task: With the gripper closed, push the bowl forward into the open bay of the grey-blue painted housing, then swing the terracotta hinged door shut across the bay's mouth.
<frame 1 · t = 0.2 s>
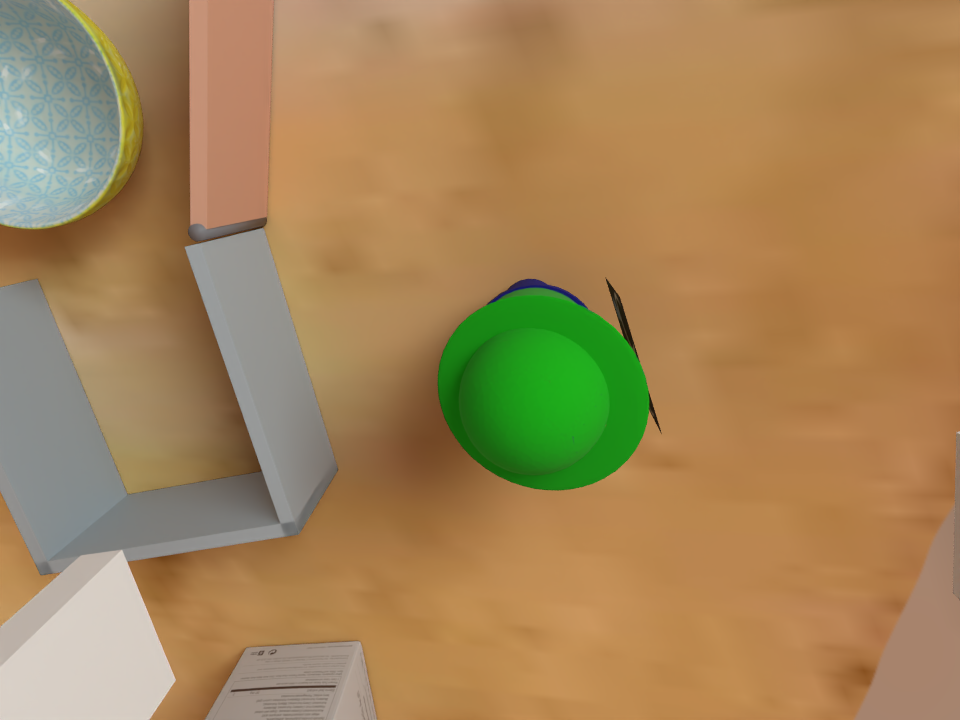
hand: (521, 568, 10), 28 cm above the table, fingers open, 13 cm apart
toy: (533, 327, 37), on the table
bowl: (92, 115, 36), on the table
housing: (181, 365, 39), on the table
door: (244, 73, 31), point 4 cm above the table, hinge at 110.0°
supplement box: (315, 688, 47), on the table
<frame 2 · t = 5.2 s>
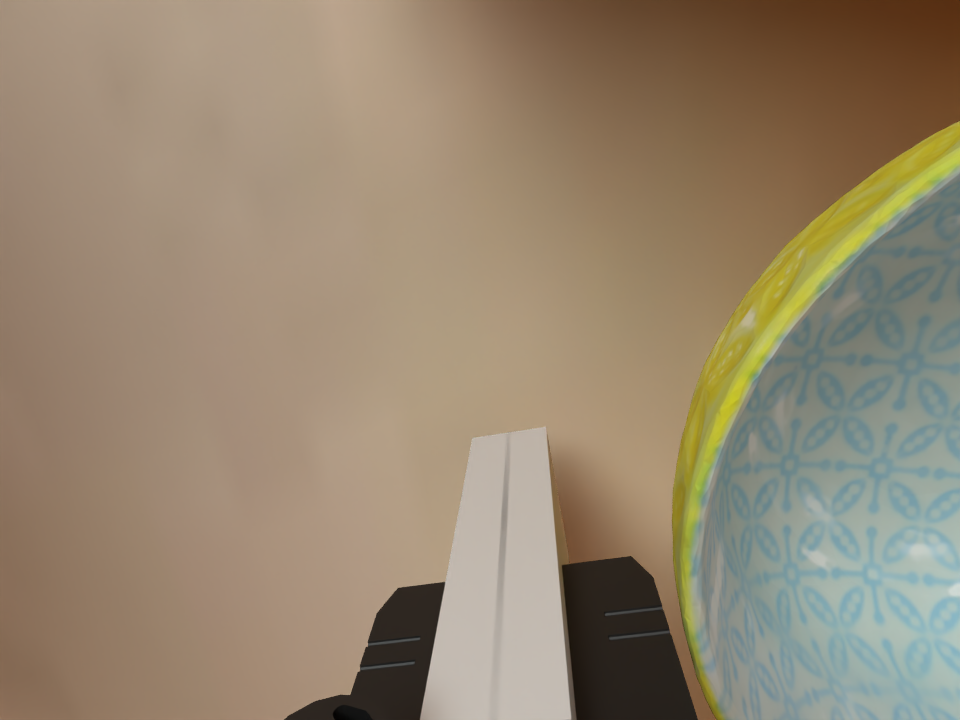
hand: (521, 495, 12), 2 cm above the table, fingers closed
bowl: (891, 376, 13), on the table, touching gripper
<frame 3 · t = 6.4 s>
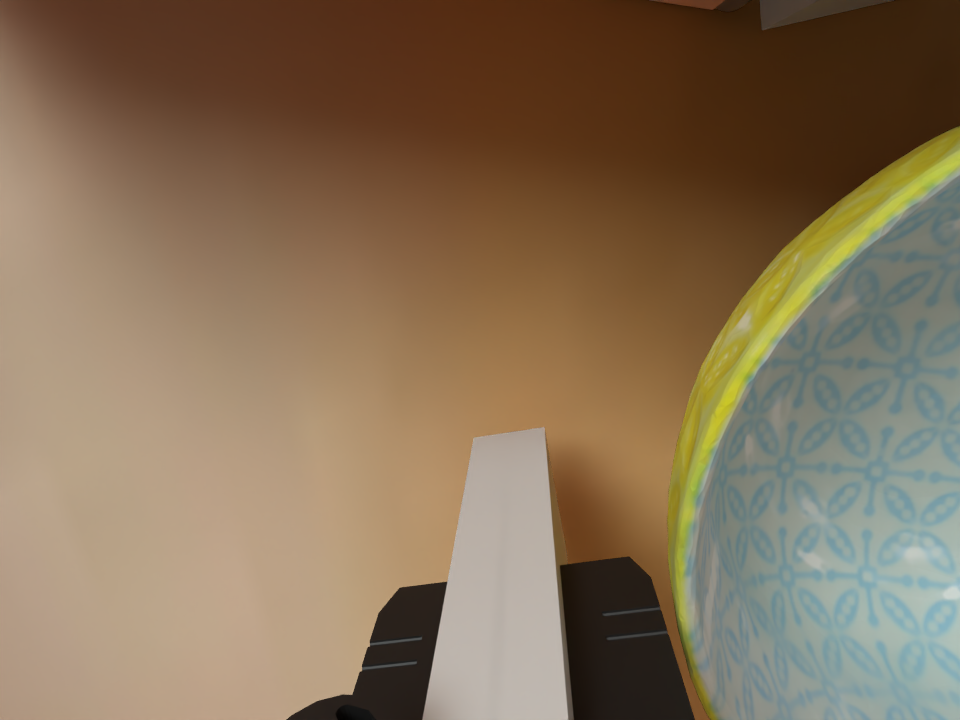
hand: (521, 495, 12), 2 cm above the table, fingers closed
bowl: (888, 380, 13), on the table, touching gripper
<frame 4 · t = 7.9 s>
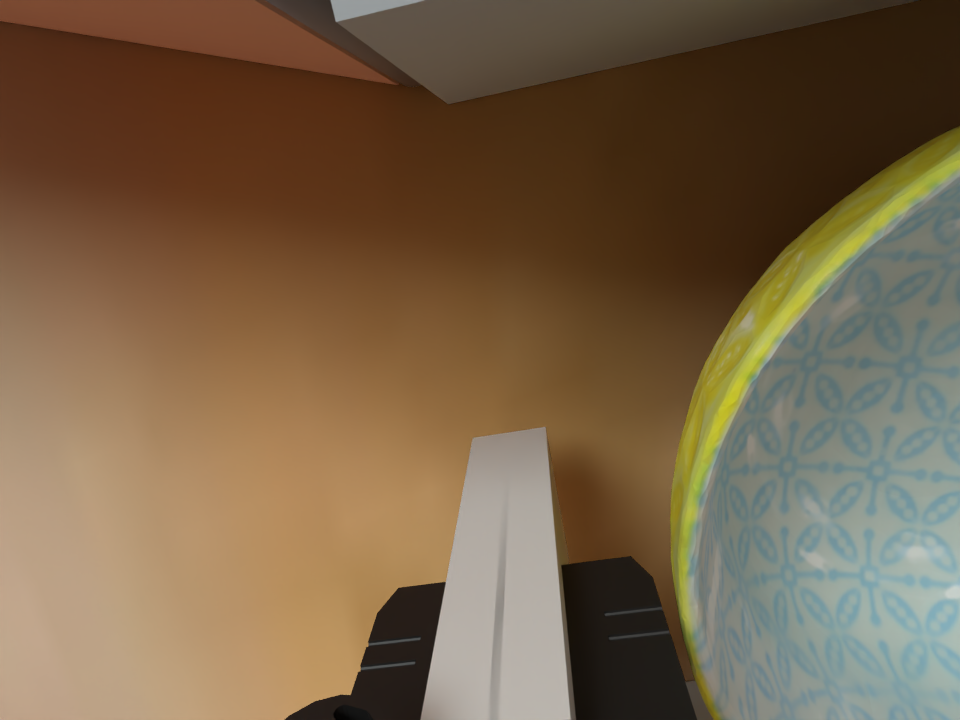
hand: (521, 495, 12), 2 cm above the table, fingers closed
bowl: (890, 379, 13), on the table, touching gripper
housing: (851, 391, 13), on the table
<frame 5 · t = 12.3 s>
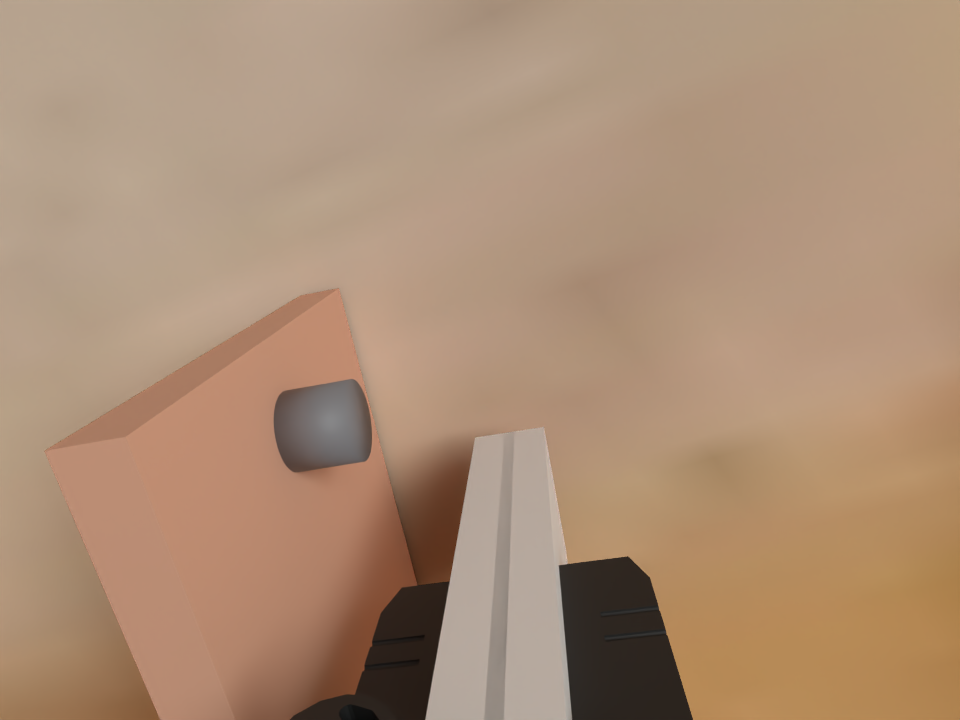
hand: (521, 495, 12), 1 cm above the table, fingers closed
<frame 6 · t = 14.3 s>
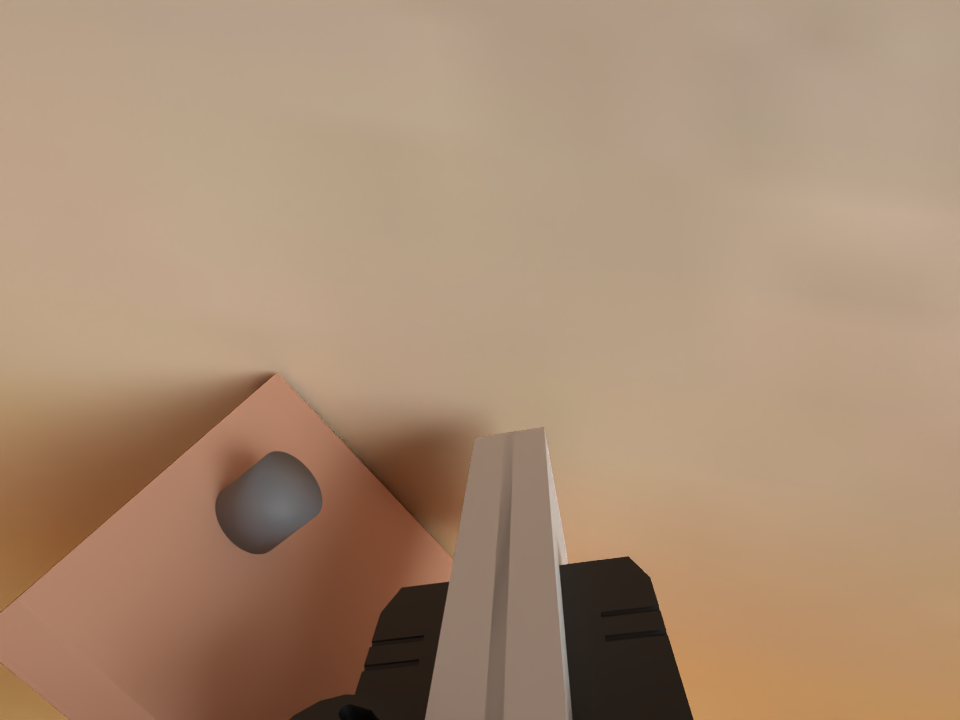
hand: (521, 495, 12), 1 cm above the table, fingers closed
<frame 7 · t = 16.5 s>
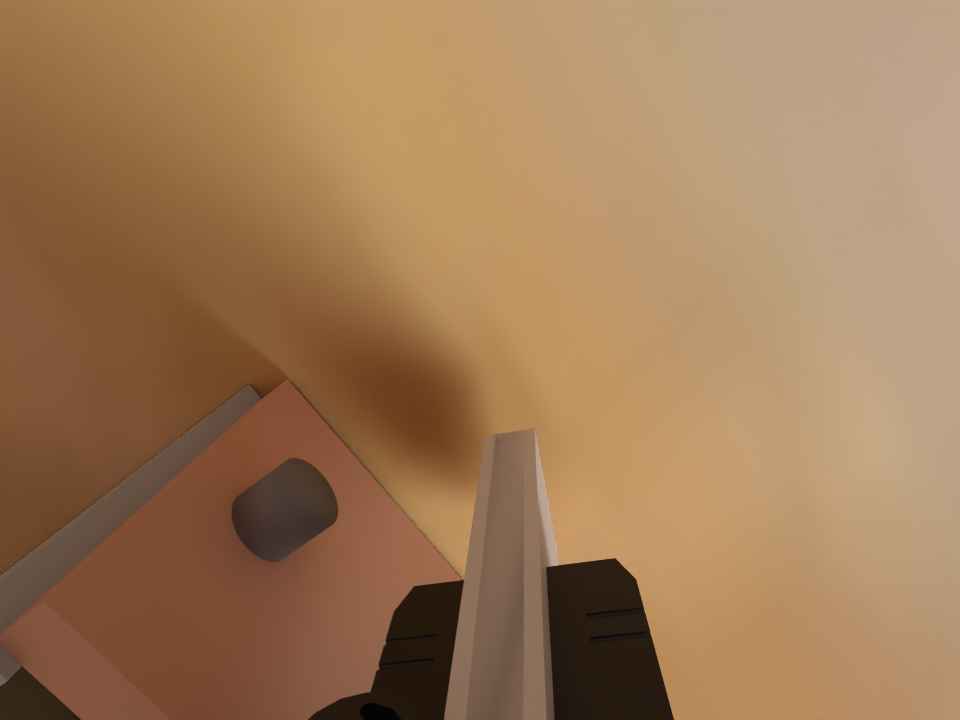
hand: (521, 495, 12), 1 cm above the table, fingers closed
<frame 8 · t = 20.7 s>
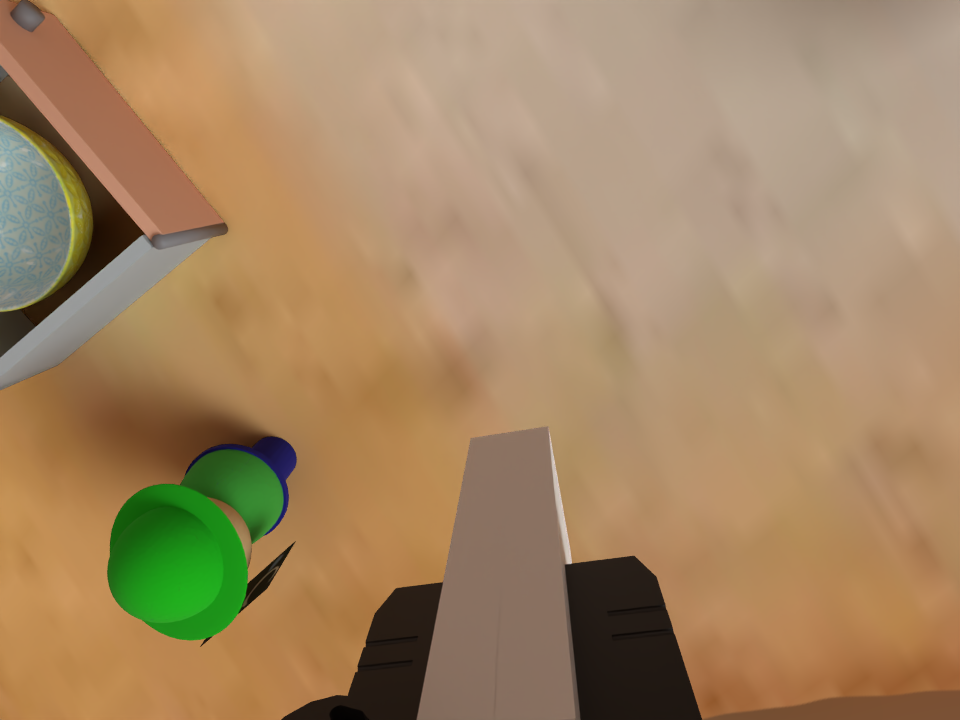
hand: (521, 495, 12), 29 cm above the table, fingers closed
toy: (261, 465, 46), on the table
bowl: (52, 206, 41), on the table
housing: (59, 197, 41), on the table
door: (109, 122, 36), point 4 cm above the table, hinge at -0.4°, touching housing
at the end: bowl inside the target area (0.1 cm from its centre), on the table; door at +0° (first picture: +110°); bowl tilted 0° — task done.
